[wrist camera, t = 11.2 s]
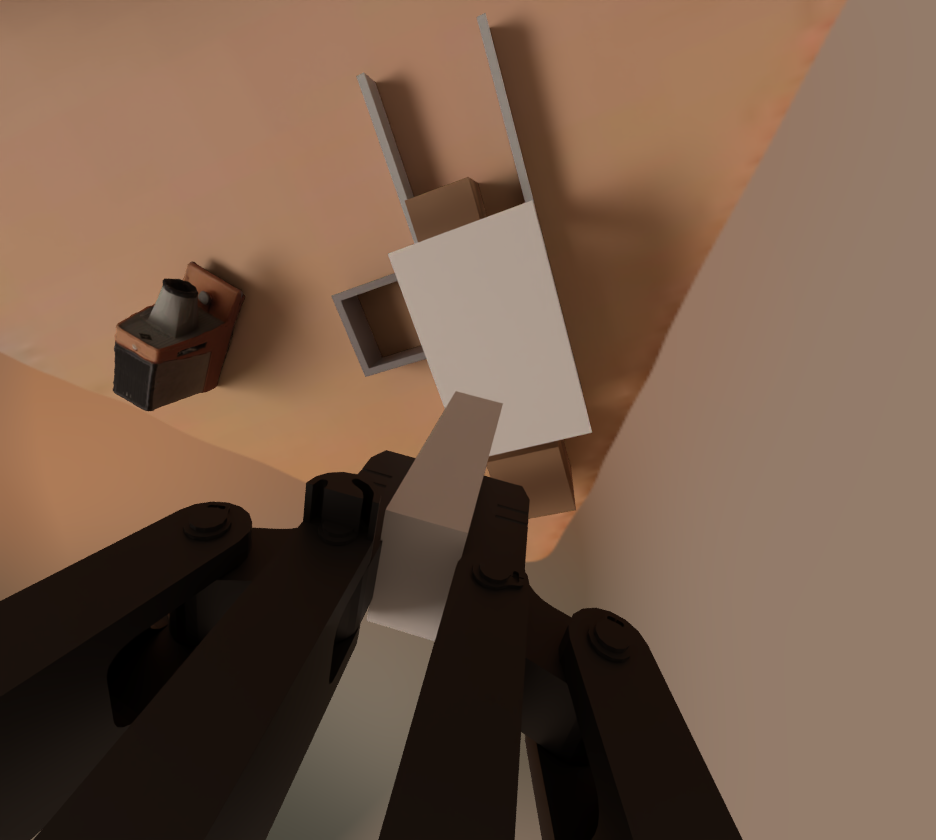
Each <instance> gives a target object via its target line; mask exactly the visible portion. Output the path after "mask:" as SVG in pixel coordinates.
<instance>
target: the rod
mask: <svg viewBox="0 0 936 840" xmlns="http://www.w3.org/2000/svg"><path fill="white" fill-rule="evenodd" d="M405 204H406V207H407V210H408V213H409V216H410V219H411V222H412V225H413V228H414V231H415V235H416V238H417V241H418V242H421V241H424V240H426V239H429V238H432V237H434V236H437V235H440V234H442V233H445V232H448V231H451V230H453V229H456V228H459V227H461V226H464V225H467V224H469V223H472V222H475V221H478V220H480V219H483V218H486V217H487V215H486V211H485V207H484V204H483V200H482V196H481V193H480V189H479V185H478V183H477V182H475V181H474V180H472V179H471V178H469V177H467V178H464V179H461V180H459V181H456V182H453V183H451V184H448V185H445V186H443V187H440V188H437V189H435V190H432V191H429V192H426V193H424V194H421V195H418V196H416V197H413V198H410V199H408V200H405Z"/></svg>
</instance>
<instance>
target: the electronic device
mask: <svg viewBox="0 0 936 840" xmlns="http://www.w3.org/2000/svg"><path fill="white" fill-rule="evenodd" d="M244 299H245V296H244V295H243V292H242V291H241V290H240V289H238V288H235V287H234V286H232V285H230V284H229V283H227V282H225V281H223V280H222V279H221V278H219V277H217V276H215V275H213V274H212V273H210V272H208V271H207V270H205V269H203V268H202V267H200V266H199V265H197V264H196V263H195V262H190V263H189V264H188V266H187V269H186V273H185V276H184V278H183V280H180V279H164V280H163V286H162V289H161V292H160V294H159V297H158V299H157V301H156V303H155V304H154V305H153V306H149V307H146V308H144V309H143V310H141V311H139V312H138V313H135V314H133V315H131V316H130V317H129V318H126V319H125V320H123V321H121V322H120V323H118V324H117V326H116V334H115V336H114V337H115V347H114V351H115V369H114V373H115V375H114V382H113V384H114V387H113V391H114V393H115V394H117V395H119V396H120V397H122V398H124V399H126V400H127V401H129V402H131V403H133V404H134V405H136V406H137V407H139V408H141V409H143V410H145V411H153V410H155V409H156V408H159V407H161V406H165V405H167V404H170V403H173V402H176V401H178V400H181V399H184V398H187V397H190V396H192V395H195V394H198V393H203V392H207V391H209V390H212V389H214V388H215V387H216V386H217V384H218V379H219V375H220V371H221V368H222V365H223V363H224V359H225V358H226V353H227V351H228V348H229V344H230V340H231V337H232V335H233V328H234V324H235V321H236V320H237V316H238V314H239V311H240V307H241V305H242V302H243V301H244Z"/></svg>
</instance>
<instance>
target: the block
mask: <svg viewBox="0 0 936 840" xmlns="http://www.w3.org/2000/svg"><path fill="white" fill-rule="evenodd" d="M487 468H488V471H489V474H490V477H491V478H494V479H498V480H502V481H505V482H509V483H513V484H516V485H520V486H523V488H524V490H525V492H526V494H527V496H528V497H529V499H530V504H529V514H528V515H529V517H528V519H530V518H536V517H541V516H547V515H552V514H558V513H563V512H568V511H574V510H576V507H575V498H574V490H573V481H572V473H571V467H570V463H569V459H568V456H567V452H566V448H565V445H564V441H563V439H562V440H557V441H553V442H549V443H544V444H540V445H536V446H531V447H527V448H523V449H518V450H514V451H509V452H505V453H501V454H496V455H492V456H489V458H488V462H487Z"/></svg>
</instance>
